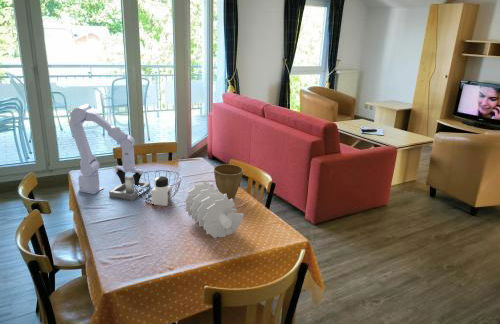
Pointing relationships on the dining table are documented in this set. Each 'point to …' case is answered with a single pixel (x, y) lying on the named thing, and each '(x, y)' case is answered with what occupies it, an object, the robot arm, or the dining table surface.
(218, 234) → the spiral staircase
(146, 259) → the dining table surface
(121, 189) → the tray
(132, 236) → the dining table surface
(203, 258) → the dining table surface
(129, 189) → the shaker
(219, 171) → the plant pot
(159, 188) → the container
